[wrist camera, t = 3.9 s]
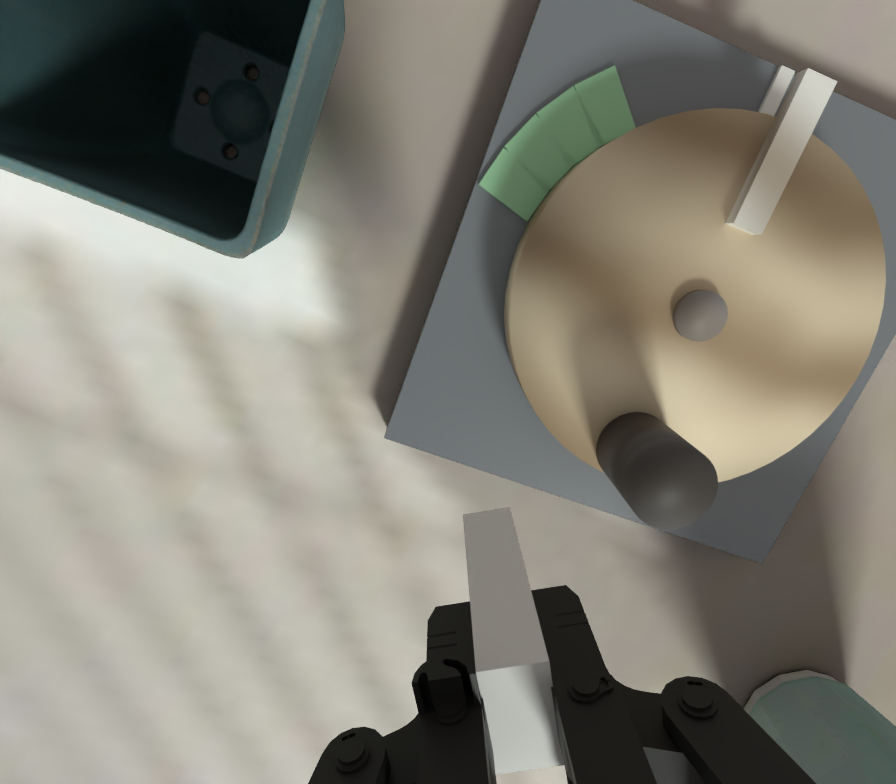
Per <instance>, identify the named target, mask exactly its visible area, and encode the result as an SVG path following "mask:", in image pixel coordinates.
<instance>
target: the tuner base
mask: <svg viewBox="0 0 896 784" xmlns="http://www.w3.org/2000/svg"><path fill="white" fill-rule="evenodd" d="M794 73H795V71H794V70H792V69H789V68H787V67H785V66H783V65H781V66H779V67H778V66H776V65H774V64H772V63H770V62H768V61H765V60H763V59H761V58H759V57H757V56H754V55H752V54H750V53H748V52H746V51H743V50H741V49H739V48H737V47H735V46H732V45H730V44H728V43H726V42H724V41H721V40H719V39H717V38H715V37H713V36H710V35H708V34H706V33H704V32H702V31H699V30H697V29H695V28H693V27H691V26H688V25H686V24H684V23H682V22H680V21H677V20H675V19H673V18H671V17H669V16H666V15H664V14H662V13H660V12H658V11H655V10H653V9H651V8H649V7H647V6H644V5H642V4H640V3H638V2H636V1H634V0H540V1H539V4H538V7H537V9H536V12H535V15H534V18H533V21H532V23H531V26H530V29H529V32H528V35H527V37H526V40H525V43H524V46H523V49H522V51H521V54H520V57H519V60H518V63H517V65H516V68H515V71H514V74H513V76H512V79H511V82H510V85H509V88H508V90H507V93H506V96H505V99H504V102H503V104H502V107H501V110H500V113H499V116H498V118H497V121H496V124H495V127H494V130H493V132H492V135H491V138H490V141H489V144H488V146H487V149H486V152H485V155H484V158H483V160H482V163H481V166H480V169H479V171H478V174H477V177H476V180H475V183H474V185H473V188H472V191H471V194H470V197H469V199H468V202H467V205H466V208H465V211H464V213H463V216H462V219H461V222H460V225H459V227H458V230H457V233H456V236H455V239H454V241H453V244H452V247H451V250H450V253H449V255H448V258H447V261H446V264H445V266H444V269H443V272H442V275H441V278H440V280H439V283H438V286H437V289H436V292H435V294H434V297H433V300H432V303H431V306H430V308H429V311H428V314H427V317H426V320H425V322H424V325H423V328H422V331H421V334H420V336H419V339H418V342H417V345H416V348H415V350H414V353H413V356H412V359H411V361H410V364H409V367H408V370H407V373H406V375H405V378H404V381H403V384H402V387H401V389H400V392H399V395H398V398H397V401H396V403H395V406H394V409H393V412H392V415H391V417H390V420H389V423H388V426H387V429H386V433H385V437H384V438H386V439H389V440H392V441H395V442H398V443H401V444H404V445H407V446H410V447H413V448H416V449H419V450H422V451H425V452H428V453H431V454H434V455H437V456H440V457H443V458H446V459H449V460H452V461H455V462H458V463H461V464H464V465H467V466H470V467H473V468H476V469H479V470H482V471H485V472H488V473H491V474H494V475H497V476H500V477H503V478H506V479H509V480H512V481H515V482H518V483H521V484H523V485H526V486H529V487H532V488H535V489H538V490H541V491H544V492H547V493H550V494H553V495H556V496H559V497H562V498H565V499H568V500H571V501H574V502H577V503H580V504H583V505H586V506H589V507H592V508H595V509H598V510H601V511H604V512H607V513H610V514H613V515H616V516H619V517H622V518H625V519H628V520H631V521H634V522H637V523H640V524H643V525H646V526H649V527H652V526H650V525H648V524H646V523H644V522H643V521H642V520H640V519H639V518H638V517H637V516H636V514H635V513H634V512H633V510H632V509H631V508H630V506H629V505H628V504H627V502H626V501H625V500H624V498H623V497H622V496H621V494H620V493H619V491H618V490H617V489H616V487H615V486H614V485H613V483H612V482H611V481H610V479H609V478H608V477H607V475H606V474H605V473H604V472H602V471H599V470H597V469H596V468H594V467H592V466H591V465H589V464H587V463H585V462H584V461H582V460H580V459H579V458H578V457H577V456H575V455H574V454H573V453H571V452H570V451H569V450H568V449H566V448H565V447H564V446H563V445H562V444H561V443H560V442H559V441H558V440H557V439H556V438H555V437H554V436H553V435H552V434H551V433H550V432H549V431H548V429H547V428H546V427H545V425H544V424H543V422H542V421H541V420H540V418H539V417H538V415H537V414H536V413H535V411H534V409H533V408H532V406H531V404H530V403H529V401H528V399H527V398H526V396H525V394H524V392H523V390H522V388H521V386H520V384H519V382H518V380H517V378H516V375H515V372H514V369H513V367H512V364H511V361H510V357H509V352H508V348H507V343H506V338H505V325H504V304H505V291H506V286H507V280H508V275H509V270H510V267H511V263H512V260H513V257H514V254H515V251H516V248H517V245H518V243H519V241H520V239H521V237H522V235H523V232H524V230H525V228H526V226H527V224H528V222H529V221H530V219H531V218H532V216H533V214H534V213H535V211H536V209H537V208H538V206H539V205H540V203H541V202H542V201H543V199H544V198H545V197H546V196H547V194H548V193H549V192H550V191H551V190H552V188H553V187H554V186H555V185H556V183H557V182H559V181H560V180H561V179H562V178H563V177H564V176H565V175H566V174H567V173H568V172H569V171H570V170H571V169H572V168H573V167H574V166H575V165H577V164H578V163H579V162H581V161H582V160H583V159H585V158H586V157H587V156H589V155H590V154H591V153H593V152H594V151H595V150H597V149H599V148H601V147H603V146H604V145H606V144H608V143H610V142H611V141H613V140H615V139H617V138H618V137H620V136H622V135H624V134H626V133H627V132H629V131H631V130H633V129H635V128H637V127H639V126H642V125H644V124H647V123H649V122H652V121H654V120H657V119H659V118H662V117H666V116H670V115H674V114H678V113H682V112H686V111H692V110H702V109H711V108H726V109H743V110H749V111H754V112H760V113H765V114H769V115H771V116H774V117H776V116H777V114H778V112H779V110H780V108H781V106H782V103H783V101H784V99H785V97H786V95H787V93H788V91H789V89H790V87H791V85H792V82H793V80H794V78H795V76H796V74H794ZM812 134H813V135H814V136H816V137H817V138H818V139H820V140H821V141H822V142H824V143H825V144H826V145H827V146H829V147H830V148H831V149H833V150H834V151H835V152H836V154H837V155H838V156H839V157H840V158H841V159H842V160H843V161H844V162H845V163H846V164H847V165H848V166H849V167H850V169H851V170H852V172H853V173H854V175H855V176H856V177H857V179H858V180H859V182H860V183H861V185H862V186H863V188H864V190H865V192H866V194H867V196H868V198H869V200H870V202H871V204H872V206H873V208H874V211H875V214H876V217H877V221H878V224H879V227H880V230H881V234H882V240H883V246H884V252H885V266H886V286H885V296H884V305H883V310H882V315H881V319H880V323H879V328H878V332H877V334H876V337H875V340H874V343H873V345H872V348H871V351H870V354H869V356H868V358H867V360H866V362H865V364H864V366H863V368H862V370H861V372H860V374H859V376H858V378H857V379H856V381H855V382H854V384H853V385H852V387H851V389H850V390H849V392H848V393H847V395H846V396H845V398H844V399H843V400H842V401H841V403H840V404H839V405H838V406H837V408H836V409H835V410H834V411H833V412H832V414H831V415H830V416H829V417H828V418H827V419H826V420H825V421H824V422H823V423H822V424H821V425H820V426H819V427H818V428H817V429H816V430H815V431H814V432H813V433H812V434H811V435H810V436H808V437H807V438H806V439H805V440H803V441H802V442H801V443H799V444H798V445H797V446H796V447H794V448H793V449H792V450H790V451H789V452H787V453H785V454H784V455H782V456H781V457H779V458H777V459H776V460H774V461H773V462H771V463H769V464H767V465H765V466H763V467H760V468H758V469H756V470H754V471H752V472H750V473H747V474H744V475H741V476H739V477H736V478H733V479H730V480H726V481H722V482H718V489H717V493H716V497H715V499H714V501H713V503H712V505H711V506H710V508H709V509H708V510H707V512H706V513H705V514H704V515H703V516H702V517H700V518H699V519H698V520H696V521H695V522H693V523H691V524H689V525H687V526H684V527H681V528H676V529H659V528H655V527H652V528H655V529H658V530H661V531H664V532H667V533H670V534H673V535H676V536H679V537H682V538H685V539H688V540H691V541H694V542H697V543H700V544H703V545H706V546H709V547H712V548H715V549H718V550H721V551H724V552H727V553H730V554H733V555H736V556H739V557H742V558H745V559H748V560H751V561H754V562H757V563H760V564H762V563H763V562H764V560H765V558H766V556H767V555H768V553H769V551H770V549H771V548H772V546H773V544H774V543H775V541H776V539H777V537H778V536H779V534H780V532H781V531H782V529H783V527H784V525H785V524H786V522H787V520H788V518H789V517H790V515H791V513H792V512H793V510H794V508H795V506H796V505H797V503H798V501H799V499H800V498H801V496H802V494H803V493H804V491H805V489H806V487H807V486H808V484H809V482H810V480H811V479H812V477H813V475H814V474H815V472H816V470H817V468H818V467H819V465H820V463H821V462H822V460H823V458H824V456H825V455H826V453H827V451H828V449H829V448H830V446H831V444H832V443H833V441H834V439H835V437H836V436H837V434H838V432H839V430H840V429H841V427H842V425H843V424H844V422H845V420H846V418H847V417H848V415H849V413H850V411H851V410H852V408H853V406H854V405H855V403H856V401H857V399H858V398H859V396H860V394H861V393H862V391H863V389H864V387H865V386H866V384H867V382H868V380H869V379H870V377H871V375H872V374H873V372H874V370H875V368H876V367H877V365H878V363H879V361H880V360H881V358H882V356H883V355H884V353H885V351H886V349H887V348H888V346H889V344H890V342H891V341H892V339H893V337H894V336H895V334H896V120H895V119H893V118H891V117H888V116H886V115H884V114H882V113H880V112H877V111H875V110H873V109H871V108H869V107H866V106H864V105H862V104H860V103H858V102H855V101H853V100H851V99H849V98H847V97H844V96H842V95H840V94H838V93H836V92H832V94H831V96H830V98H829V100H828V102H827V104H826V106H825V108H824V110H823V112H822V114H821V116H820V118H819V120H818V122H817V124H816V126H815V128H814V130H813V132H812Z"/></svg>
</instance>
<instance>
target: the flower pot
mask: <svg viewBox="0 0 896 784" xmlns="http://www.w3.org/2000/svg"><path fill="white" fill-rule="evenodd" d="M344 32H345V15H344V2H343V0H0V169H3V170H6V171H8V172H11V173H14V174H16V175H19V176H22V177H24V178H27V179H30V180H32V181H35V182H39V183H42V184H44V185H46V186H50V187H52V188H54V189H57V190H60V191H62V192H65V193H68V194H71V195H73V196H76V197H78V198H81V199H83V200H87V201H89V202H91V203H93V204H96V205H99V206H102V207H105V208H107V209H110V210H112V211H115V212H118V213H120V214H123V215H125V216H128V217H131V218H134V219H136V220H138V221H141V222H144V223H146V224H148V225H151V226H154V227H156V228H159V229H162V230H164V231H166V232H169V233H171V234H174V235H176V236H179V237H181V238H184V239H186V240H188V241H191V242H194V243H196V244H198V245H200V246H203V247H205V248H207V249H210V250H213V251H215V252H218V253H220V254H223V255H226V256H229V257H234V258H244V257H246V256H248V255H249V254H251V253H253V252H255V251H256V250H258V249H260V248H262V247H263V246H265V245H267V244H268V243H270V242H271V241H273V240H274V239H276V238H277V237H278V236H279V235H280V234H281V233H282V232H283V230H284V229H285V227H286V224H287V222H288V220H289V217H290V213H291V210H292V206H293V203H294V200H295V196H296V193H297V190H298V186H299V183H300V180H301V176H302V173H303V170H304V166H305V163H306V160H307V156H308V153H309V150H310V146H311V143H312V140H313V136H314V133H315V130H316V127H317V123H318V120H319V117H320V114H321V110H322V107H323V104H324V101H325V97H326V94H327V91H328V87H329V84H330V81H331V78H332V75H333V72H334V68H335V65H336V62H337V59H338V56H339V53H340V50H341V46H342V42H343V37H344ZM249 66H255V67H256V68H257V69H258V72H259V75H258V77H257V78H256V79H254V80H250V79H248V78H247V76H246V69H247V68H248V67H249ZM201 90H205V91H206V92H207V93H208V94H209V97H210V99H209V102H208V103H206V104H201V103H200V102H199V101H198V99H197V94H198V92H200V91H201ZM227 146H233V147H234V148H235V149H236V151H237V155H236V157H235V158H228V157H227V156H226V155H225V148H226V147H227Z"/></svg>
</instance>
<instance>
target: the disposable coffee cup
mask: <svg viewBox="0 0 896 784" xmlns="http://www.w3.org/2000/svg"><path fill="white" fill-rule="evenodd" d="M744 710H745V711H746V712H747V713H748V714H749V715H750V716H751V717H752V718H753V719H754V720H755V721H756V722H757V723H758V724H759V725H760V726H761V727H762V728H763V729H764V730H765V732H766V733H767V734H768V735H769V736H770V737H771V738H772V739H773V740H774V741H775V742H776V743H777V744H778V745H779V746H780V747H781V748H782V749H783V750H784V751H785V752H786V753H787V754H788V755H789V756H790V757H791V758H792V759H793V760H794V761H795V762H796V763H797V764H798V765H799V766H800V767H801V768H802V769H803V770H804V771H805V772H806V773H807V774H808V775H809V776H810V777H811V778H812V780H813V781H814V782H815V783H816V784H896V726H895V725H893V724H892V723H891V722H890V721H889V720H888V719H886V718H885V717H884V716H883V715H882V714H880V713H879V712H878V711H877V710H876V709H875V708H873V707H872V706H871V705H870V704H869V703H868V702H866V701H865V700H864V699H863V698H862V697H861V696H859V695H858V694H857V693H856V692H855V691H854V690H852V689H851V688H850V687H849V686H848V685H847V684H845V683H842V682H839V681H837V680H835V679H834V678H833V677H832V676H829V675H825V674H821V673H817V672H813V671H810V670H802V671H797V672H792V673H787V674H781V675H778V676H776V677H775V678H773V679H772V680H770V681H768V682H767V683H765V684H764V685H762V686H761V687H759V688H758V689H756V690H755V691H754V692H753V694H752V696H751V697H750V699H749V701H748V702H747V704H746V706H745V708H744Z"/></svg>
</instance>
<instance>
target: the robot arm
mask: <svg viewBox="0 0 896 784" xmlns="http://www.w3.org/2000/svg"><path fill="white" fill-rule="evenodd" d="M463 521H464V533H465V546H466V558H467V570H468V582H469V595H470V602H464V603H457V604H451V605H444V606H438V607H435V609H434V611H433V613H432V615H431V616H430V618H429V620H428V631H427V637H428V639H427V662H425V663H424V664H422V665H421V666H420V668H419V669H418V670H417V671H416V672H415V674H414V677H413V681H412V687H413V691H414V695H415V699H416V704H417V708H418V712H419V713H418V715H417V716H416V717H415V718H414V719H413V720H412V721H411V722H410V723H409V724H407V725H406V726H404V727H402V728H401V729H399V730H397V731H395V732H392V733H390V734H388V735H386V736H384V737H382V736H381V735H380V734H379V733H378V732H377V731H376V730H374V729H371V728H367V727H359V728H352V729H350V730H347V731H345V732H343V733H341V734H339V735H338V736H337V737H336V738H335V739H333V740H332V741H331V742H330V743H329V745H328V746H327V747H326V749H325V750H324V752H323V753H322V755H321V758H320V760H319V762H318V764H317V766H316V768H315V770H314V772H313V774H312V777H311V779H310V781H309V783H308V784H497V783H496V775H498V774H505V773H512V772H519V771H526V770H533V769H540V768H546V767H553V766H560V765H565V769H566V775H567V782H568V784H816V783H815V782H814V781H813V780H812V778H811V777H810V776H809V775H808V774H807V773H806V772H805V771H804V770H803V769H802V768H801V767H800V766H799V765H798V764H797V763H796V762H795V761H794V760H793V759H792V758H791V757H790V756H789V755H788V754H787V753H786V752H785V751H784V750H783V749H782V748H781V747H780V746H779V745H778V744H777V743H776V742H775V741H774V740H773V739H772V738H771V737H770V736H769V735H768V734H767V733H766V732H765V730H764V729H763V728H762V727H761V726H760V725H759V724H758V723H757V722H756V721H755V720H754V719H753V718H752V717H751V716H750V715H749V714H748V713H747V712H746V711H745V710H744V709H743V708H742V707H741V706H740V705H739V704H738V703H737V702H736V701H735V700H734V699H733V698H732V697H731V696H730V695H729V694H728V693H727V692H726V691H725V690H724V689H722V688H721V687H720V686H718V685H717V684H716V683H713V682H711V681H708V680H706V679H703V678H698V677H689V676H687V677H682V678H676V679H674V680H673V681H671V682H669V683H668V684H666V686H665V688H664V689H663V691H662V693H661V694H658V693H650V692H643V691H638V690H634V689H631V688H629V687H626V686H624V685H622V684H621V683H619V682H618V681H616V680H615V679H614V678H613V676H612V675H610V674H609V672H608V670H607V668H606V667H605V664H604V661H603V659H602V656H601V654H600V651H599V648H598V646H597V643H596V641H595V638H594V635H593V633H592V630H591V628H590V625H589V623H588V620H587V617H586V615H585V613H584V610H583V607H582V604H581V602H580V599H579V597H578V595H576V594H575V593H574V592H573V591H572V590H571V589H570V588H569V587H567V586H566V585H564V586H557V587H551V588H545V589H538V590H532V591H531V588H530V584H529V580H528V577H527V573H526V569H525V565H524V561H523V557H522V553H521V549H520V545H519V542H518V538H517V534H516V530H515V526H514V522H513V518H512V514H511V510H510V507H507V508H501V509H495V510H489V511H483V512H477V513H470V514H464V515H463Z"/></svg>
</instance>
